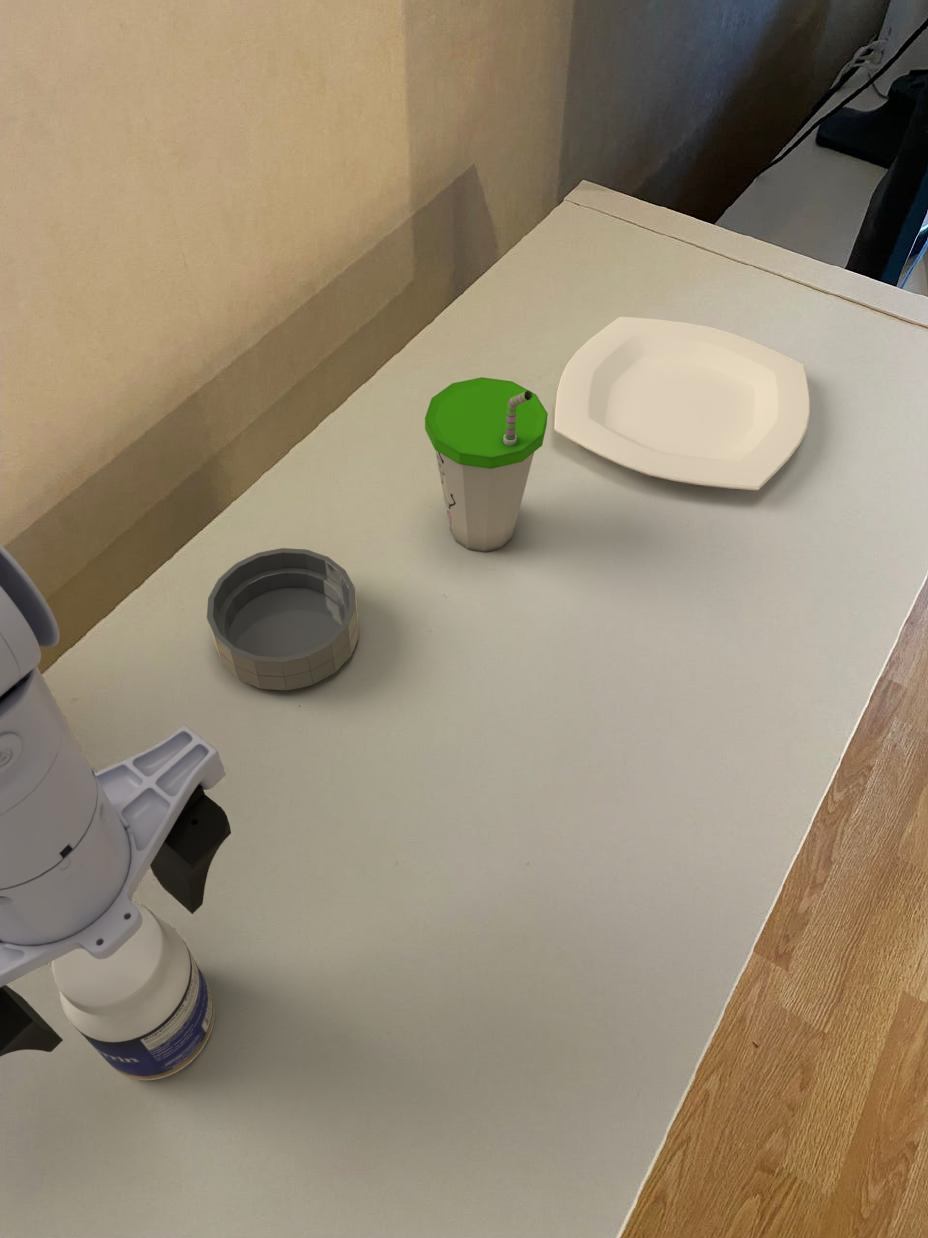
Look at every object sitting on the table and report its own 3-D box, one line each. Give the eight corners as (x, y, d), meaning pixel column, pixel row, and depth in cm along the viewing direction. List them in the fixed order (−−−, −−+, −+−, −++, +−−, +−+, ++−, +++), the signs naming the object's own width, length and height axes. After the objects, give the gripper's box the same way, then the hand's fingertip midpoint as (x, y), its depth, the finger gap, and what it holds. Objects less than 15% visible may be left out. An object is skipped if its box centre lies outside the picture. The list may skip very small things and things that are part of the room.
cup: (427, 490, 75) (423, 315, 63) (533, 489, 75) (548, 315, 63) (427, 570, 70) (423, 396, 58) (540, 569, 70) (559, 395, 58)
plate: (772, 530, 73) (779, 510, 71) (521, 454, 77) (523, 435, 76) (824, 376, 84) (831, 356, 82) (602, 318, 88) (605, 299, 87)
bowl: (213, 701, 63) (203, 668, 60) (220, 587, 69) (211, 552, 66) (362, 689, 64) (358, 656, 61) (356, 577, 69) (352, 542, 67)
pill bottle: (76, 1035, 50) (8, 962, 43) (162, 944, 53) (113, 861, 46) (156, 1109, 48) (100, 1048, 41) (241, 1011, 51) (204, 936, 43)
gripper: (-126, 1071, 28) (31, 1170, 39) (254, 731, 35) (299, 893, 46) (-253, 917, 31) (-74, 1049, 42) (124, 630, 38) (195, 804, 49)
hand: (115, 960), depth 44 cm, fingers open, 7 cm apart
